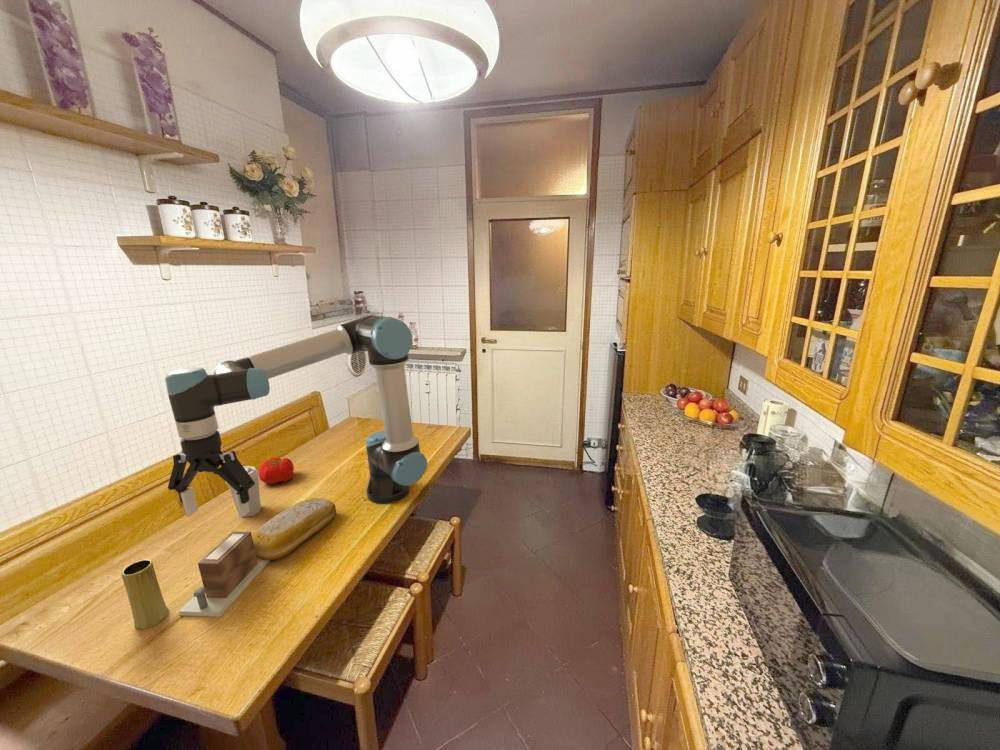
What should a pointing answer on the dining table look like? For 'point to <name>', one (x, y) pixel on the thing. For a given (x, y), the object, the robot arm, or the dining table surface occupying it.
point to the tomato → (276, 470)
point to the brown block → (228, 564)
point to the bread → (292, 527)
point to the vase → (144, 594)
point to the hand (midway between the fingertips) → (218, 514)
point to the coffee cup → (251, 492)
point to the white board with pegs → (218, 605)
